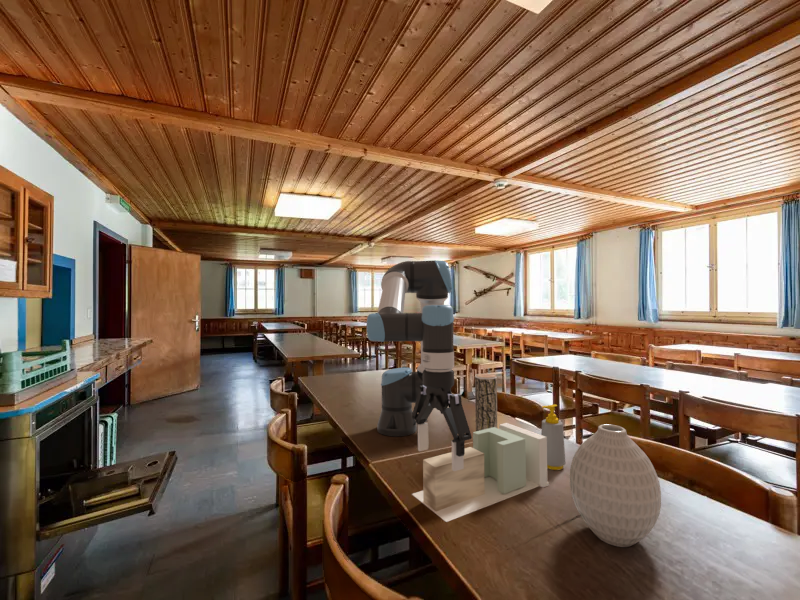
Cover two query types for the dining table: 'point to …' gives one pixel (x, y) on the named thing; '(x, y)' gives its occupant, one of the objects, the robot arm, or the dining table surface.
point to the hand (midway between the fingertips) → (439, 459)
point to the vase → (615, 487)
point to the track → (534, 478)
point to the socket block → (502, 457)
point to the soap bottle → (554, 440)
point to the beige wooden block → (452, 479)
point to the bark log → (485, 401)
